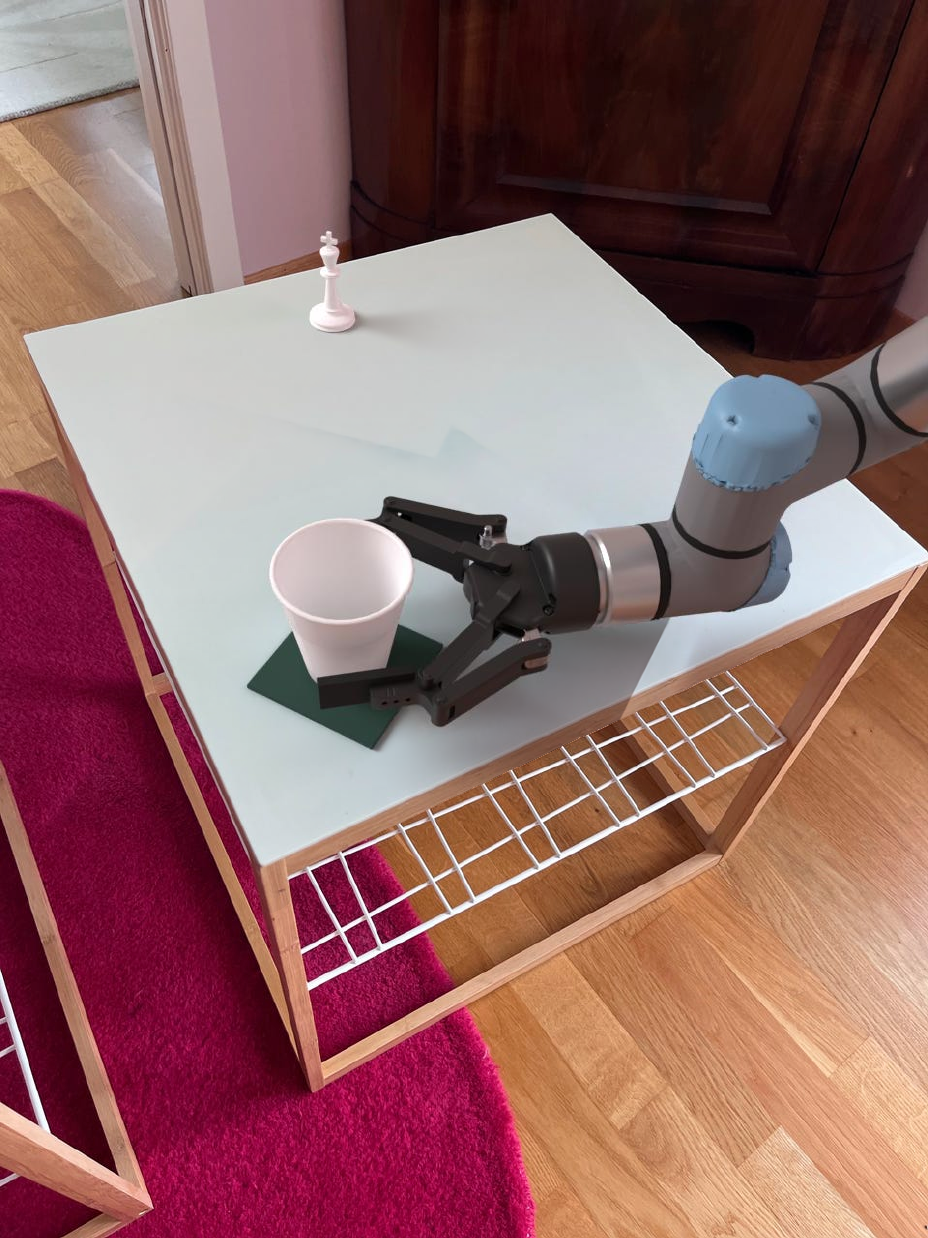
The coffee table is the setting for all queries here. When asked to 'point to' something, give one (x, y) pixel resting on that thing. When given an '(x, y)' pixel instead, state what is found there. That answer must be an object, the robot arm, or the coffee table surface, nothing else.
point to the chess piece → (331, 293)
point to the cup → (342, 592)
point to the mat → (359, 722)
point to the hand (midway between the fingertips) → (305, 616)
